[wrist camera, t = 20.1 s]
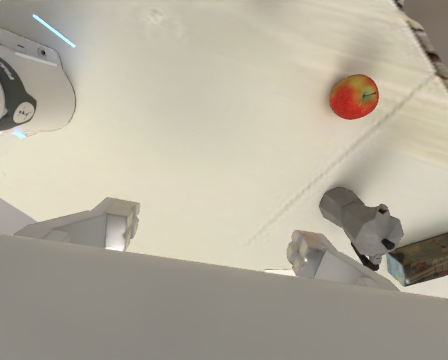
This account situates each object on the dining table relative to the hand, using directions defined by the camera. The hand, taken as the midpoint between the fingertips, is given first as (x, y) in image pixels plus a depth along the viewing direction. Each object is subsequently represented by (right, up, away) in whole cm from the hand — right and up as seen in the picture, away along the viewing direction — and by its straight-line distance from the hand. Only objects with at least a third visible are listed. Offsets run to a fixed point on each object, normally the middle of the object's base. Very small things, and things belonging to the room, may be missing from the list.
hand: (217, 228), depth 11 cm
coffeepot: (+29, -4, +45) cm, 53 cm away
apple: (+25, +20, +36) cm, 48 cm away
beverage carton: (+55, -18, +50) cm, 77 cm away
